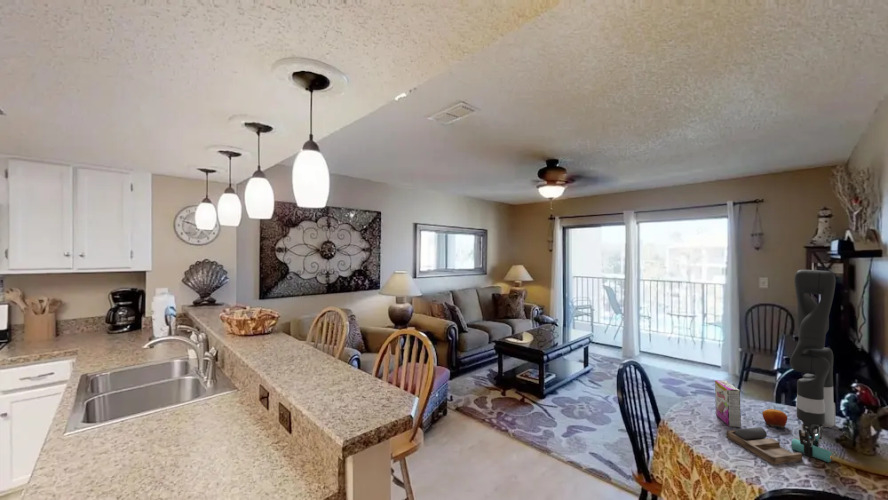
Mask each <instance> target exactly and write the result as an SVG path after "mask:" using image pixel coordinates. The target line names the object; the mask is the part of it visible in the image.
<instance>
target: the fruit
mask: <svg viewBox="0 0 888 500" xmlns="http://www.w3.org/2000/svg"><path fill="white" fill-rule="evenodd" d="M762 418H763V421H764V422H765V423H766V425H769V426H771V427H772V428H773V427H778V428H782V429H784V430H786V429H785V428H784V427H785V426H786V425H787V423H788V416H787V414H786V413H785V412H784V411H781V410H779V409H775V408H769V409H765V410H763V411H762Z"/></svg>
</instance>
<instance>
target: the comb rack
mask: <svg viewBox="0 0 888 500" xmlns="http://www.w3.org/2000/svg"><path fill="white" fill-rule="evenodd" d="M736 430H737V429H734V430H727V431H726V438H728V439H729V440H731V441H733V442H734V443H736V444H737V445H739V446H741V447H743V448H744V449H746V450H748V451H749V452H751V453H753V454H755V455H756V456H758V457H760V458H761V459H763V460H764V461H767V462H768V463H770V464H771V465H779V464H780V465H781V464H787V463H796V462H803V453H801V452H799V451H798V452H792V451H790V450H788V449H787V448H784V447H783V446H781V442H780V441H778V440H776V439H774V438H773V437H772V438H762V439H753V440H744V439H742V438H740V437H739V436H737V435H735V431H736Z"/></svg>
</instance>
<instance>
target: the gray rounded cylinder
mask: <svg viewBox="0 0 888 500" xmlns="http://www.w3.org/2000/svg"><path fill="white" fill-rule="evenodd" d="M735 430H736V431H735V435H737V436H739V437H740V438H742V439H744V440H753V439H762V438H765V439H767V437H768V433H767V431H766V430H765V429H764V428H763V427H762V426H761V427H760V426H757V427H750V428H749V427H748V428H740V429H738V428H737V429H735Z"/></svg>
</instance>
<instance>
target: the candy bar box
mask: <svg viewBox="0 0 888 500" xmlns="http://www.w3.org/2000/svg"><path fill="white" fill-rule="evenodd" d="M714 389H715V391H714V392H715V416H716V417H718V418H719V419H720V420H721V421H722V422H724V423H725V424H726V425H727V426H728V427H729V428H741V427H742V425H741V423H742V420H741V418H742V416H741V414H742V413H741V390H740V389H738V388H737V387H736V386H734V385H733V384H732V383H730V382H729V381H727V380H721V379H720V380H718V379H717V380H716V379H715V380H714Z"/></svg>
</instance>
